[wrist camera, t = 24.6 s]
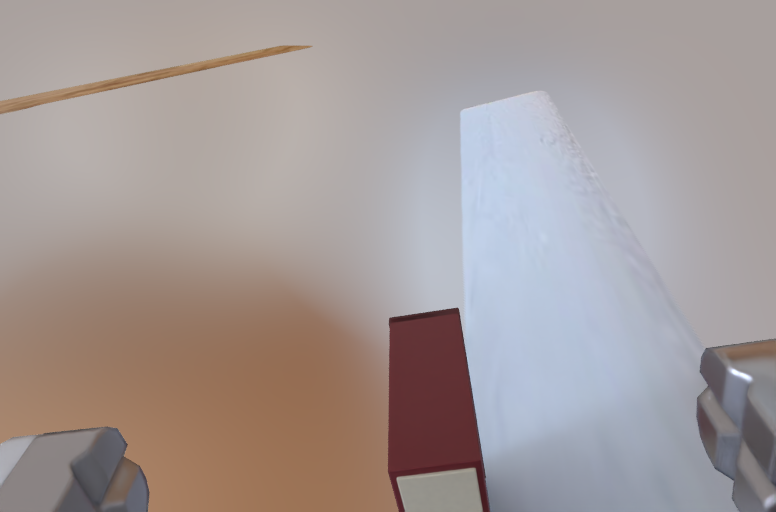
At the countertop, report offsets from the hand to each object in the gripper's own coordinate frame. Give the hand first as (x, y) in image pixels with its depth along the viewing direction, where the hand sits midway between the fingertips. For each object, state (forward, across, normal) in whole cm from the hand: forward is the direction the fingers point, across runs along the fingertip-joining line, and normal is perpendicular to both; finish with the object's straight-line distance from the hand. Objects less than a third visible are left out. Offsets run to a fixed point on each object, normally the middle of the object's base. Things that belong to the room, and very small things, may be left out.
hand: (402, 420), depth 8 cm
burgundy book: (+17, +1, +28) cm, 33 cm away
